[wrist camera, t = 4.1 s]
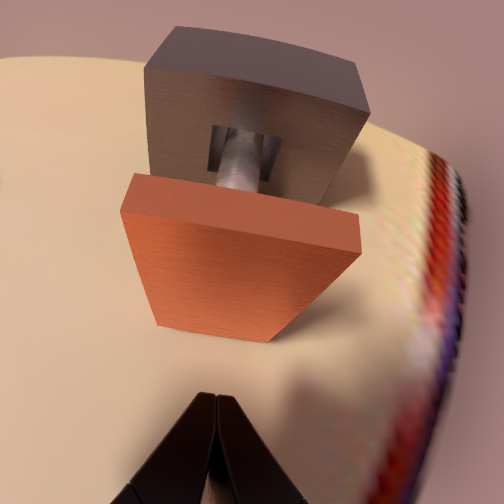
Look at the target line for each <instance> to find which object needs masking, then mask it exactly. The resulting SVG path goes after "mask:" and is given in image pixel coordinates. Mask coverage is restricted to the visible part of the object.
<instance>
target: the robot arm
mask: <svg viewBox="0 0 504 504" xmlns="http://www.w3.org/2000/svg"><path fill="white" fill-rule="evenodd" d="M207 474H208V489H209V500H210V504H309V503H308V502H307V501H306V500H305V499H303V496H302V494H301V493H300V492H299V490H298V489H297V488H296V486H295V485H294V484H293V482H292V481H291V480H290V478H289V477H288V476H287V474H286V473H285V471H284V470H283V469H282V467H281V466H280V464H279V463H278V462H277V460H276V459H275V457H274V456H273V455H272V453H271V452H270V450H269V449H268V447H267V446H266V444H265V443H264V441H263V440H262V439H261V437H260V436H259V434H258V433H257V431H256V430H255V428H254V427H253V425H252V424H251V422H250V421H249V419H248V418H247V416H246V414H245V413H244V411H243V410H242V408H241V407H240V405H239V404H238V402H237V400H236V399H235V398H234V397H233V396H228V395H220V394H219V395H217V396H216V395H215V394H213V393H206V392H199V393H198V394H197V395H196V396H195V398H194V399H193V400H192V402H191V403H190V404H189V406H188V407H187V408H186V410H185V411H184V412H183V414H182V415H181V416H180V417H179V419H178V420H177V421H176V423H175V424H174V425H173V427H172V428H171V429H170V430H169V432H168V433H167V434H166V436H165V437H164V438H163V439H162V441H161V442H160V443H159V445H158V446H157V447H156V448H155V450H154V451H153V452H152V454H151V455H150V456H149V457H148V459H147V460H146V461H145V462H144V464H143V465H142V466H141V467H140V469H139V470H138V471H137V472H136V474H135V475H134V476H133V477H132V479H131V480H130V483H127V484H126V486H125V487H124V488H123V489H122V491H121V492H120V493H119V494H118V495H117V496H116V498H115V499H114V500H113V501H112V502H111V503H110V504H201V501H202V497H203V492H204V488H205V483H206V478H207ZM302 499H303V500H302Z"/></svg>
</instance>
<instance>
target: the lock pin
mask: <svg viewBox="0 0 504 504" xmlns="http://www.w3.org/2000/svg"><path fill="white" fill-rule="evenodd" d="M263 139H264V134H261V133H256V132H251V131H246V130H240V129H235V128H229V127H228V130H227V134H226V138H225V143H224V147H223V152H222V156H221V161H220V165H219V170H218V174H217V179H216V183H215V185H209V184H203V183H197V182H191V181H185V180H178V179H172V178H165V177H158V176H152V175H144V174H137V173H134V175H133V178H132V180H131V183H130V185H129V188H128V191H127V193H126V196H125V198H124V201H123V204H122V206H121V209H120V214H121V217H122V221H123V224H124V228H125V231H126V234H127V238H128V241H129V244H130V247H131V251H132V254H133V257H134V260H135V263H136V266H137V269H138V272H139V275H140V278H141V281H142V284H143V287H144V290H145V293H146V296H147V298H148V301H149V304H150V307H151V309H152V312H153V315H154V317H155V320H156V323H157V325H158V326H163V327H168V328H174V329H180V330H185V331H191V332H197V333H203V334H209V335H216V336H222V337H229V338H236V339H243V340H251V341H259V342H268V341H269V340H270V339H272V338H273V337H274V336H275V335H276V334H277V333H278V332H280V331H281V330H282V329H283V328H284V327H285V326H286V325H287V324H288V323H290V322H291V321H292V320H293V319H294V318H295V317H296V316H297V315H298V314H299V313H301V312H302V311H303V310H304V309H305V308H306V307H307V306H308V305H309V304H310V303H311V302H312V301H314V300H315V299H316V298H317V297H318V296H319V295H320V294H321V293H322V292H323V291H324V290H325V289H326V288H327V287H328V286H329V285H330V284H331V283H333V282H334V281H335V280H336V279H337V278H338V277H339V276H340V275H341V274H342V273H343V272H344V271H345V270H346V269H347V268H348V267H349V266H350V265H351V264H352V263H353V262H354V261H355V260H356V259H357V258H358V257H359V256H360V255H361V254H362V249H361V237H360V226H359V216H358V214H353V213H349V212H345V211H340V210H336V209H331V208H327V207H322V206H318V205H313V204H308V203H304V202H299V201H294V200H289V199H284V198H279V197H274V196H269V195H264V194H259V193H258V185H259V176H260V167H261V157H262V148H263Z"/></svg>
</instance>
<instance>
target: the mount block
mask: <svg viewBox="0 0 504 504" xmlns="http://www.w3.org/2000/svg"><path fill="white" fill-rule="evenodd" d="M144 90H145V110H146V127H147V140H148V153H149V164H150V174H151V175H152V176H158V177H165V178H172V179H178V180H185V181H191V182H197V183H203V184H209V185H215V183H216V179H217V174H218V170H219V165H220V161H221V156H222V152H223V147H224V143H225V138H226V134H227V130H228V127H229V128H235V129H240V130H246V131H251V132H256V133H261V134H264V139H263V148H262V157H261V167H260V176H259V185H258V193H259V194H264V195H269V196H274V197H279V198H284V199H289V200H294V201H299V202H304V203H308V204H313V205H318V204H319V202H320V200H321V199H322V197H323V195H324V194H325V192H326V190H327V188H328V187H329V185H330V183H331V182H332V180H333V178H334V177H335V175H336V173H337V171H338V170H339V168H340V166H341V165H342V163H343V161H344V159H345V158H346V156H347V154H348V152H349V151H350V149H351V147H352V145H353V144H354V142H355V140H356V138H357V137H358V135H359V133H360V131H361V130H362V128H363V126H364V124H365V123H366V121H367V119H368V117H369V115H370V109H369V106H368V102H367V99H366V96H365V92H364V89H363V86H362V83H361V80H360V77H359V74H358V71H357V68H356V65H355V63H354V62H351V61H348V60H345V59H342V58H339V57H335V56H332V55H328V54H325V53H322V52H318V51H315V50H311V49H308V48H304V47H300V46H296V45H292V44H288V43H283V42H279V41H275V40H269V39H265V38H260V37H255V36H249V35H243V34H238V33H231V32H225V31H218V30H210V29H200V28H192V27H179V26H176V27H175V28H174V29H173V30H172V31H171V33H170V34H169V35H168V37H167V38H166V39H165V40H164V42H163V43H162V44H161V45H160V47H159V48H158V49H157V51H156V52H155V53H154V55H153V56H152V57H151V59H150V60H149V61H148V63H147V64H146V66H145V67H144Z"/></svg>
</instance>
